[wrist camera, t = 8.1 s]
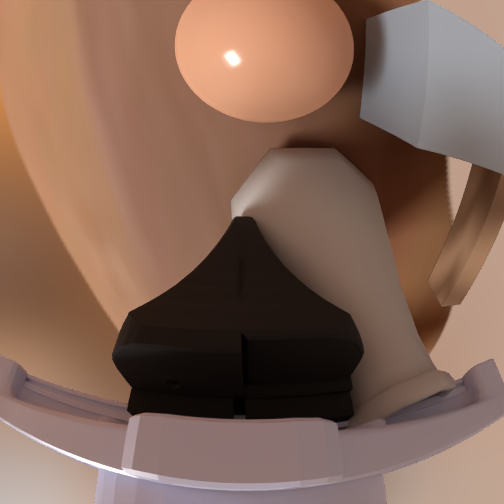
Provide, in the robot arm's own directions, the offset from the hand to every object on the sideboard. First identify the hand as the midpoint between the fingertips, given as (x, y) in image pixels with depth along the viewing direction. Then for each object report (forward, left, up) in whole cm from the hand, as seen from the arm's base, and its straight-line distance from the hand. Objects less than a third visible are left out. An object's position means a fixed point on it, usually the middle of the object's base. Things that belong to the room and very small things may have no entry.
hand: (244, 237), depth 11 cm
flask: (0, -3, -2) cm, 4 cm away
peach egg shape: (+7, -1, -3) cm, 8 cm away
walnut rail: (+2, -14, -3) cm, 14 cm away
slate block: (+7, -8, -3) cm, 11 cm away
